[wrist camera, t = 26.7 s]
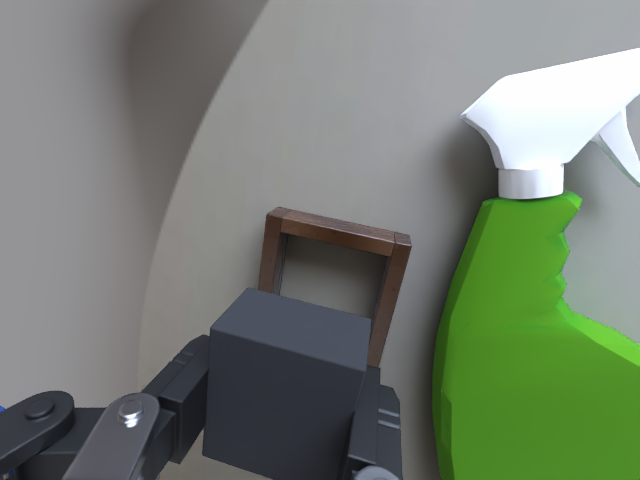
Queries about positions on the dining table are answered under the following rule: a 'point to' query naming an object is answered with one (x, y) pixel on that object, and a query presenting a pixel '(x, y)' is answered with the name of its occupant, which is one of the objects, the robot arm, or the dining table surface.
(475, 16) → the dining table surface
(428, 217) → the dining table surface
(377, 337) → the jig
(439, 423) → the spray bottle
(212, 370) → the pad
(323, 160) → the dining table surface
